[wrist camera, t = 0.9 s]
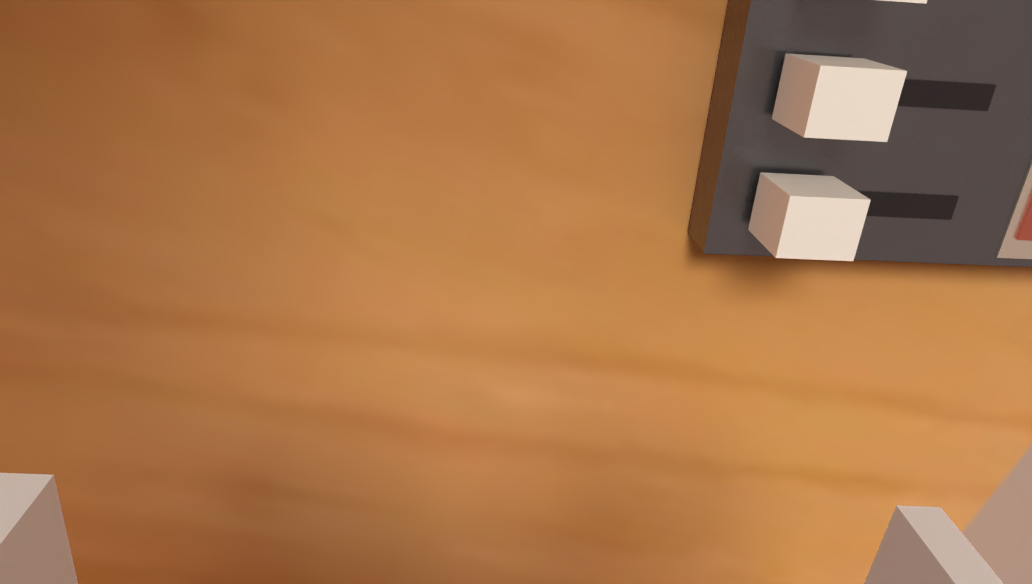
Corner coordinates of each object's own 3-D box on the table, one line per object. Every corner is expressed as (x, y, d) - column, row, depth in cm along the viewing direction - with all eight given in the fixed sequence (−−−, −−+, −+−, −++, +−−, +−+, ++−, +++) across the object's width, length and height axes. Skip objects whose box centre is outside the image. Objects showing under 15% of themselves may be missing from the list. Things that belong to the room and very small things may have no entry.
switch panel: (750, -124, 27) (778, -131, 25) (1200, -87, 28) (1270, -90, 26) (687, 232, 33) (705, 255, 30) (1062, 248, 34) (1109, 272, 32)
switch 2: (760, 172, 29) (790, 195, 26) (833, 176, 29) (870, 199, 26) (748, 229, 30) (775, 258, 27) (819, 232, 30) (853, 261, 27)
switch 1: (785, 53, 27) (820, 65, 24) (864, 58, 27) (907, 70, 24) (771, 118, 28) (803, 137, 25) (847, 123, 28) (887, 142, 26)
